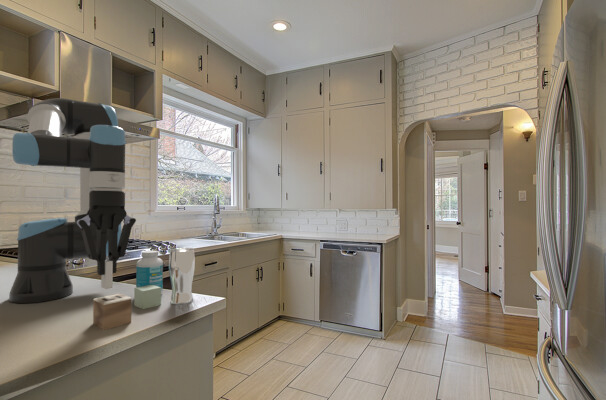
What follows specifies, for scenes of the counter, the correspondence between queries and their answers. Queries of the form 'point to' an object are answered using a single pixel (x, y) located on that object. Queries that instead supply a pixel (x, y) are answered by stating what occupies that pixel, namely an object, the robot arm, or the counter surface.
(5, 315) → the counter surface
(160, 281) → the pill bottle
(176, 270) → the beer glass
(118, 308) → the walnut block
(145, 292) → the sage block
